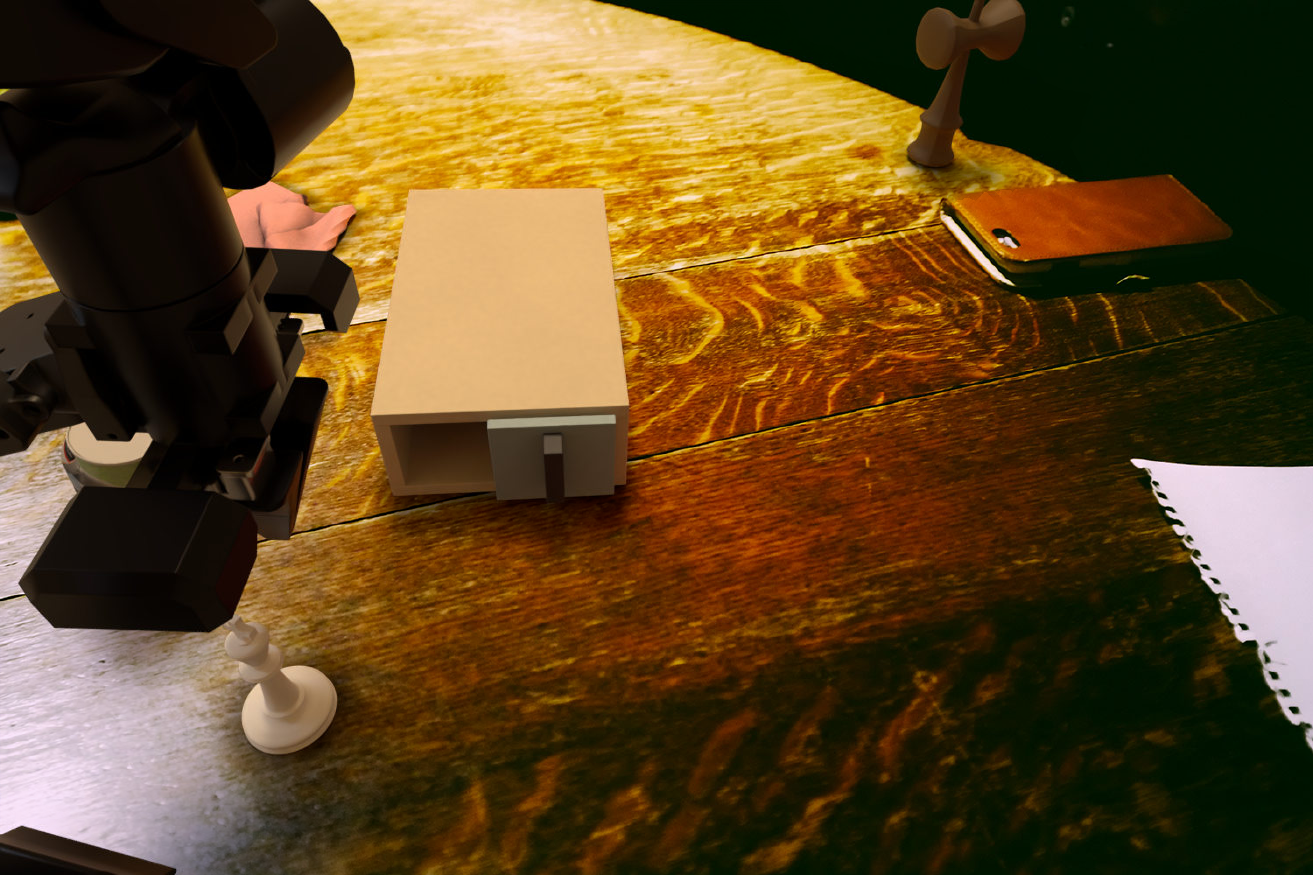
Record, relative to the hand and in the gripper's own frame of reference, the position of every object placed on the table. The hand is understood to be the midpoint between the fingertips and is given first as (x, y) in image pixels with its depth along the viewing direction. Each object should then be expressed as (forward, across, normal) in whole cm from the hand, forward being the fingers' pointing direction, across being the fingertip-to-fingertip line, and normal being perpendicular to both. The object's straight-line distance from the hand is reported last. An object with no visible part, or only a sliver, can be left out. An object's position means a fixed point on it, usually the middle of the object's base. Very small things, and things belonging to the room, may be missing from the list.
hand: (280, 533), depth 39 cm
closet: (+12, -26, +7) cm, 29 cm away
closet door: (+12, -12, +12) cm, 20 cm away
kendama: (+12, -63, +49) cm, 81 cm away
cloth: (+12, -40, -19) cm, 46 cm away
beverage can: (+12, -7, -12) cm, 18 cm away
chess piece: (+12, +3, -2) cm, 13 cm away
